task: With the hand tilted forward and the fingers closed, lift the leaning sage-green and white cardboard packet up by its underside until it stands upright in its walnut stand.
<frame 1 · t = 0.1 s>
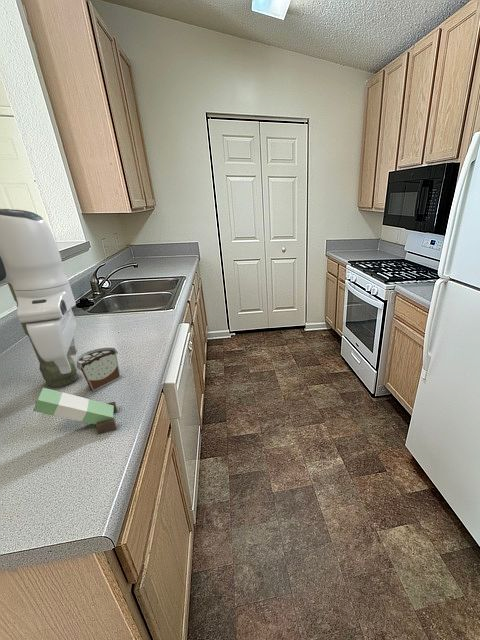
hand: (70, 362, 71), 21 cm above the counter, tool pointing down, fingers open, 8 cm apart
moai statue: (63, 381, 106), on the counter
stand: (108, 420, 87), on the counter
cake slice: (101, 382, 105), on the counter
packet: (76, 407, 82), point 6 cm above the counter, hinge at 35.0°
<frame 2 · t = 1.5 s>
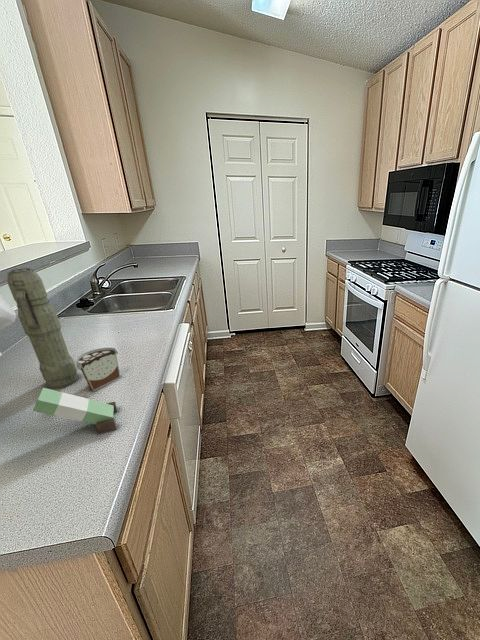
nothing on the counter moved.
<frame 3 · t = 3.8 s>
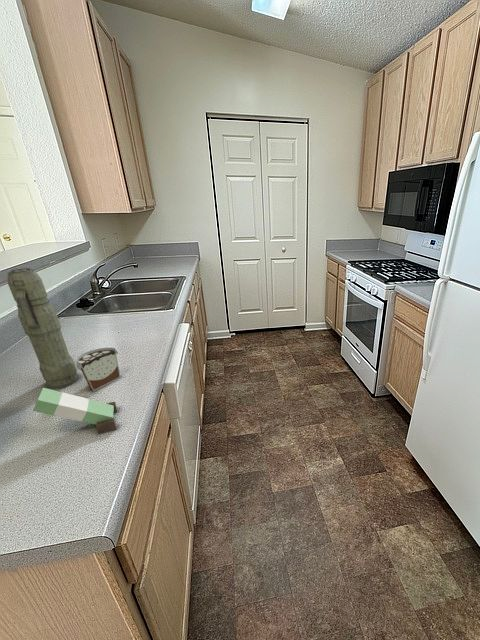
nothing on the counter moved.
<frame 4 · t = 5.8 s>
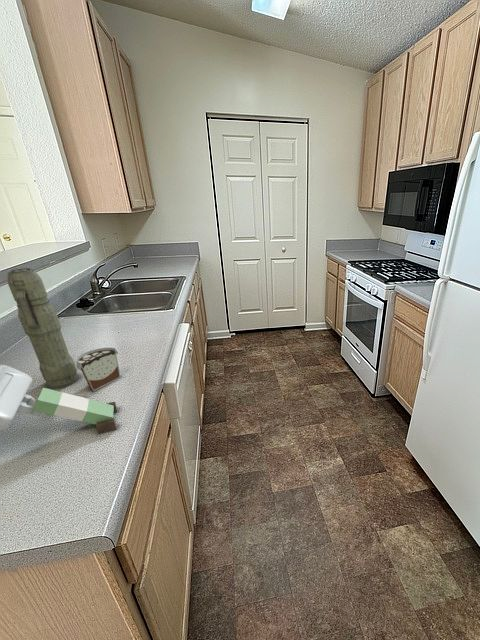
hand: (42, 410, 79), 7 cm above the counter, tool tilted 45°, fingers closed, pressing on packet
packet: (76, 407, 82), point 6 cm above the counter, hinge at 35.0°, touching gripper
everything else where it was.
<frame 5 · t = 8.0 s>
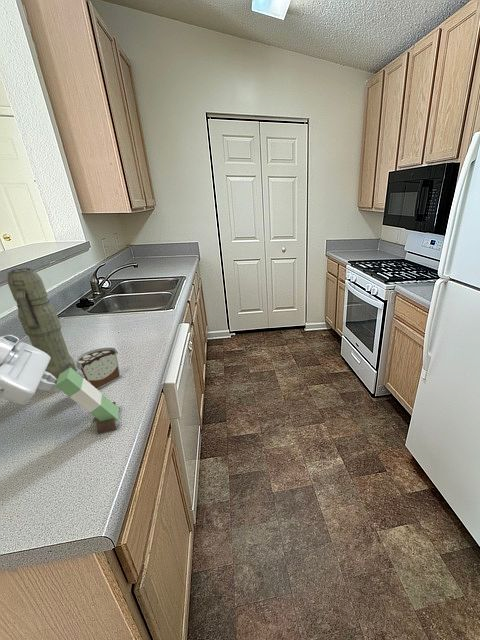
hand: (61, 387, 79), 12 cm above the counter, tool tilted 45°, fingers closed, pressing on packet
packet: (89, 397, 82), point 8 cm above the counter, hinge at 62.9°, touching gripper
everything else where it was.
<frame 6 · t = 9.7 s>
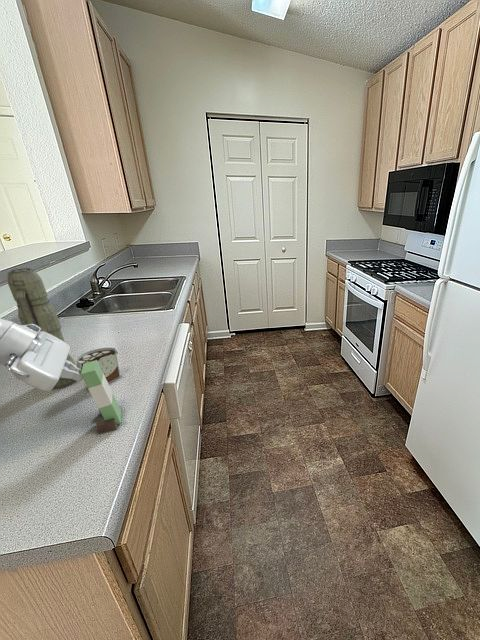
hand: (82, 376, 80), 14 cm above the counter, tool tilted 45°, fingers closed, pressing on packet
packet: (102, 393, 83), point 8 cm above the counter, hinge at 83.4°, touching gripper
everything else where it was.
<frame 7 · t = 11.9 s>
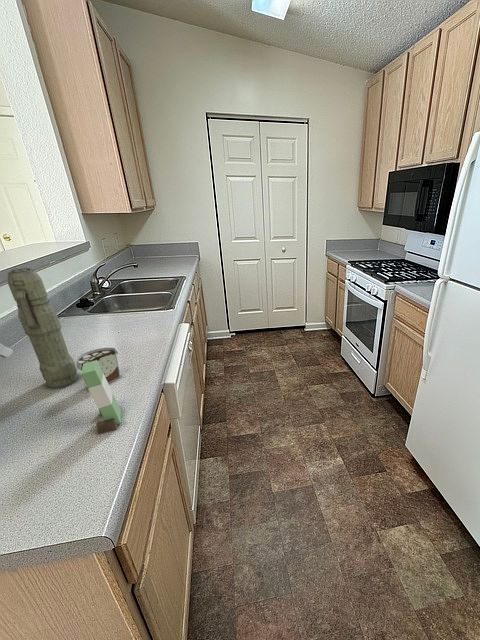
hand: (9, 354, 69), 23 cm above the counter, tool tilted 40°, fingers closed
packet: (102, 393, 83), point 8 cm above the counter, hinge at 83.4°
everything else where it was.
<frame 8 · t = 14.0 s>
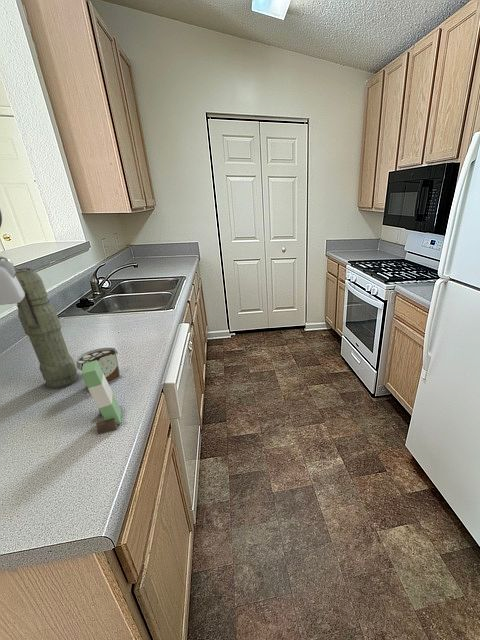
nothing on the counter moved.
at the end: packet at +83° (first picture: +35°); cake slice moved 0.2 cm from its start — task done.
